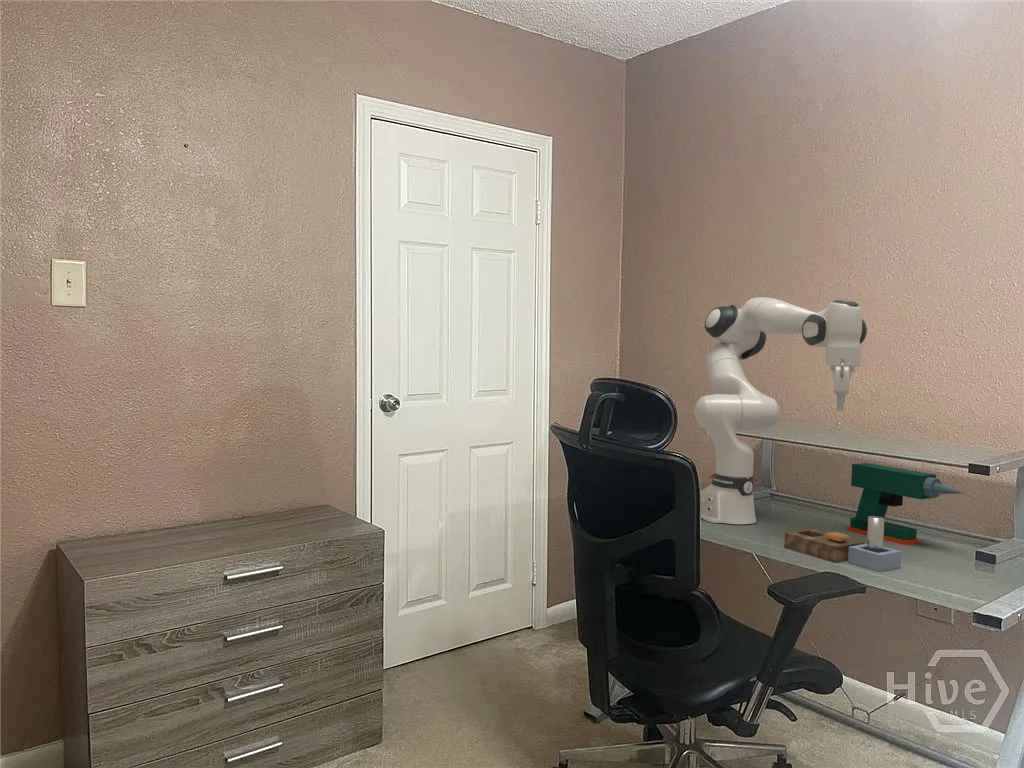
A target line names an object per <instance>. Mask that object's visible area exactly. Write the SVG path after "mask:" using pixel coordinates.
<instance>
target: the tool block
mask: <svg viewBox="0 0 1024 768" xmlns="http://www.w3.org/2000/svg"><path fill="white" fill-rule="evenodd" d="M825 533H828V532H825V531H823V530H819V529H815V528H808V529H807V528H806V529H801V530H794V531H787V532H786V531H785V532H784V548H785V547H786V549H790V550H792V549H793V550H792V551H795V550H796V551H795V552H799V553H802V552H803V554H805V553H806V555H808V554H809V555H808V556H811V557H816V558H819V559H822V560H825V561H829V562H833V563H835V564H836V563H840V562H841V563H842V562H848V552H849V547H850V546H856V545H862V544H865V542H864V541H861V540H856V539H852V538H850V537H849V540H848V541H844V542H842V543H836V542H833V541H830V539H828V538H825Z"/></svg>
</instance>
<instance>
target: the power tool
mask: <svg viewBox="0 0 1024 768" xmlns="http://www.w3.org/2000/svg"><path fill="white" fill-rule="evenodd" d="M850 477H851V479H850V481H851V482H850V486H852V487H854V488H861V489H862V493H861V496H860V500H859V502H858V506H857V511H856V513H855V516H854V517H850V520H849V523H850V524H849V526H847V529H846V531H848V532H853V533H857V534H861V535H864V536H867V534H868V516H879V517H883V518H884V519H885V517H886V513H887V511H888V508H889V507H894V508H895V507H900V506H903V500H904V499H903V498H904V497H907V498H912V499H916V500H927V499H928V500H929V499H936V498H939V497H940V495H956V494H963V492H961V491H959V490H956V489H954V488H952V487H949V486H946V485H943V484H942V482H941V480H940V479H939V478H937V474H935V473H929V472H924V471H923V472H922V471H918V470H910V469H906V468H900V467H893V466H886V465H881V464H875V463H870V462H869V463H868V462H859V463H852V464H851V476H850ZM917 531H918V529H917V528H915V527H909V526H904V525H900V524H897V523H893V522H887V521H884V534H883V541H887V542H891V543H895V544H899V545H903V546H907V545H914V544H919V543H920V538H917V534H918V533H917Z"/></svg>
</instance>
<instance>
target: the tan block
mask: <svg viewBox="0 0 1024 768" xmlns="http://www.w3.org/2000/svg"><path fill="white" fill-rule="evenodd" d="M825 538H828V539H830V541H833V542H836V543H842V542H844V541H848V540H849V538H850V535H848V534H845V533H841V532H836V531H832V532H831V531H830V532H827V533H825Z"/></svg>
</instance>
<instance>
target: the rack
mask: <svg viewBox="0 0 1024 768" xmlns="http://www.w3.org/2000/svg"><path fill="white" fill-rule="evenodd" d="M902 554H903V553H902V550H897V549H893V548H890V547H886V546H883V552H881V553H876V552H873V551H869V550H867V543H864V544H862V545H856V546H850V547H849V552H848V561H847V563H849V564H852V565H854V566H859V567H863V568H865V569H869V570H872V571H876V572H879V573H880V572H883V571H884V572H885V571H889V570H894V569H898V568H902Z"/></svg>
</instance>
